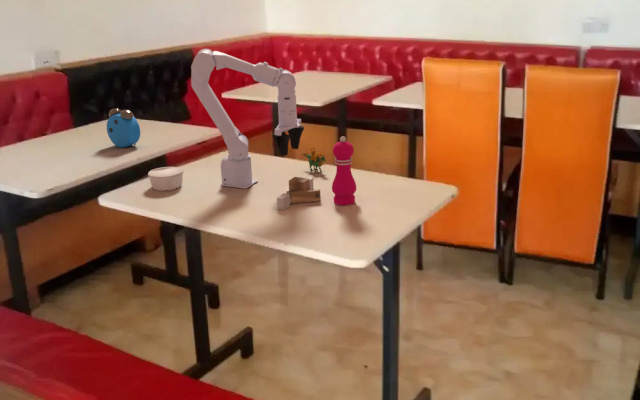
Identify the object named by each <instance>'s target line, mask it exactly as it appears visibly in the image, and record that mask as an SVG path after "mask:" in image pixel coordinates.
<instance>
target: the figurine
mask: <svg viewBox="0 0 640 400" xmlns="http://www.w3.org/2000/svg"><path fill="white" fill-rule="evenodd" d="M309 153H310V154H309ZM309 153H308V152H303V153H301V155H302V156H304V157H306V158H307V159H308V164H309V171H310V172H313V171H316V173H319V172H323V170H322V168H321V167H322V166H325V164H324V163H326V162H327V161H326V157H325V155H324V154H322V153H321V152H319V153H317V151H316V150H315V147H313V146H311V148H310V152H309ZM312 167H313V169H312ZM318 169H319V170H318Z"/></svg>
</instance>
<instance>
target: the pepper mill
mask: <svg viewBox="0 0 640 400" xmlns="http://www.w3.org/2000/svg"><path fill="white" fill-rule="evenodd" d="M354 150H355V149H354V147H353V145H352V143H351V142H349V141H347V138H346V137H345V136H341V137H340V138H339V141H338V142H336V143H334V144H333V148H332V154H333V156H334V157H335V158H334V164H336V166H335V167H336V173H335V175H334V179H333V180H332V181H333V182H332V183H331V184H332V185H331V192H332V194H334V196H333V203H334V204H335V205H337V206H351V205H353V204H354V203H356V196H355V193H356V191H357V184H356V180H355V178H354V176H353V173H352V168H351V166H352V163H353V158H352V156H353V155H354Z"/></svg>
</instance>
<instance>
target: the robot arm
mask: <svg viewBox="0 0 640 400" xmlns="http://www.w3.org/2000/svg"><path fill="white" fill-rule="evenodd" d="M190 66H191V67H190V69H191V71H190V73H191V81H190V82H191V83H190V86H191V88H192V90H193V91H194V93H195V94H196V97H197V98H198V100H199V101H200V103H201V104H202V106H203V107H204V109H205V110H206V112H207V113H208V115H209V117H210V118H211V120H212V122H213V123H214V124H215V126H216V127H217V129H218V131H219V133H220V134H221V136H222V138H223V141H224V143H225V145H226V147H227V153H228V155H227V156H224V157H222V159H221V162H220V174H221V176H220V177H221V183H220V186H222V187H229V188H236V189H237V188H238V189H247V188H249V187H251V186H253V185H254V184H256V183H258V179H253V172H252V157H251V156H252V155H251V154H250V153H249V146H250V145H249V143H250V141H249V140H248V137H247V136H246V135H244V134H243V133H241V132H240V130H239V129H238V128H237V127H236V126H235V124H234V123H233V121H232V119H231V118H230V116H229V114H228V113H227V111H226V110H225V108H224V107H223V105H222V103H221V101H220V100H219V99H218V96H217V95H216V94H215V92H214V91H213V89H212V87H211V86H210V84H209V81H210V77H211V74H212V72H213V71H214V68H215V67H216V71H218V70H222V69H226V68H228V69H231V70H233V71H237V72H241V73H243V74H247V75H250V76H252V78H253V80H254V81H255V82H259V83H261V84H264V85H267V86H270V87H273V88H274V87H277V90H278V91H277V94H278V95H277V109H278V113H277V114H278V125H277V126H276V128H274V133H272V138H273V139H274V141H275V143H276V145H277V148H278V152H279V154H280V155H281V156H285V157H286V156H288V154H289V142H290V147H291V149H292V150H298V149H299V147H300V142H301V137H302V135H303V132H304V131H305V126H302V119H301V118H298V114H297V95H296V89H295V88H296V86H297V82H296V77H295V76H294V74H293V73H292V72H291V71H290V70H288V69H283V68H282V67H279V68H277V67H275V66H272V65H269V63H268V62H266V61H263V62H258V63H256V64H253V63H251V62H248V61H247V60H242V59H241V58H238V57H235V56H232V55H231V54H230V55H229V54H227V53H224V52H222V51H221V52H220V51H218V50H214V51H213V50H211V49H210V48H202V49H200V50H199V51H198V52H197V54H196V55H195V56H194V58H193V61H192V63H191V65H190ZM286 132H287V133H288V134H287V133H286Z"/></svg>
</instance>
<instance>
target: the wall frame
mask: <svg viewBox="0 0 640 400" xmlns="http://www.w3.org/2000/svg"><path fill="white" fill-rule="evenodd" d="M306 178H309V179H310V190H314V177H310V176H309V177H306ZM276 202H277V203H276V204H277V207H276V208H277V210H280V211H281V210H284V211H285V210H287V208H288V207H290V206H291V200H290V192H289V190H287V191H286V193H282V194H280V195H279V196H278V197H276Z"/></svg>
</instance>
